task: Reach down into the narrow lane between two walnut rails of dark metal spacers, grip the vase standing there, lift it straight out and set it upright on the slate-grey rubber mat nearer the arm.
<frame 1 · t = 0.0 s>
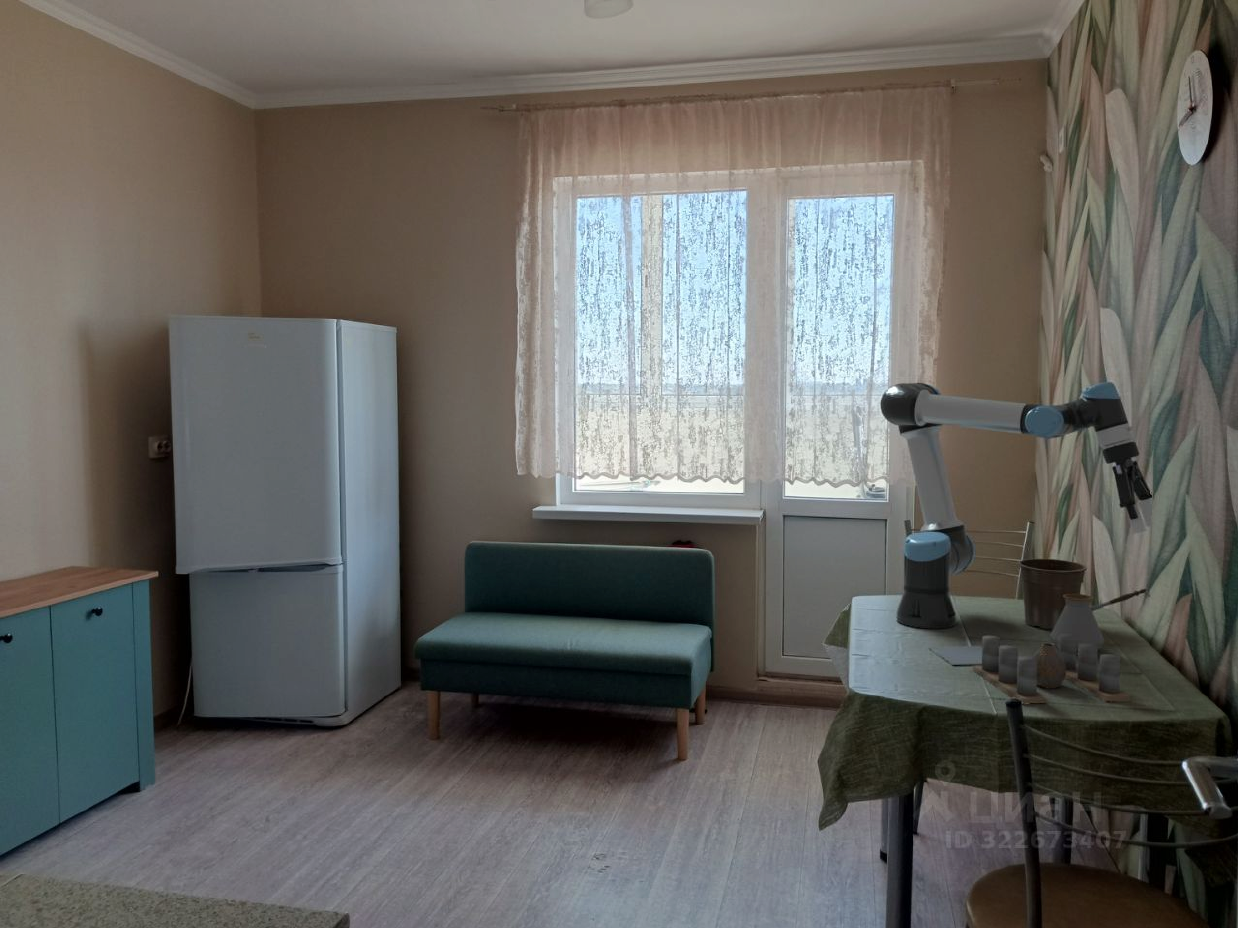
hand: (1146, 528, 224), 28 cm above the table, tool tilted 20°, fingers open, 13 cm apart
plant pot: (1050, 625, 244), on the table
vase: (1047, 686, 194), on the table
spacer rack: (1047, 685, 194), on the table
coffee pot: (1098, 651, 220), on the table
mat: (969, 656, 216), on the table
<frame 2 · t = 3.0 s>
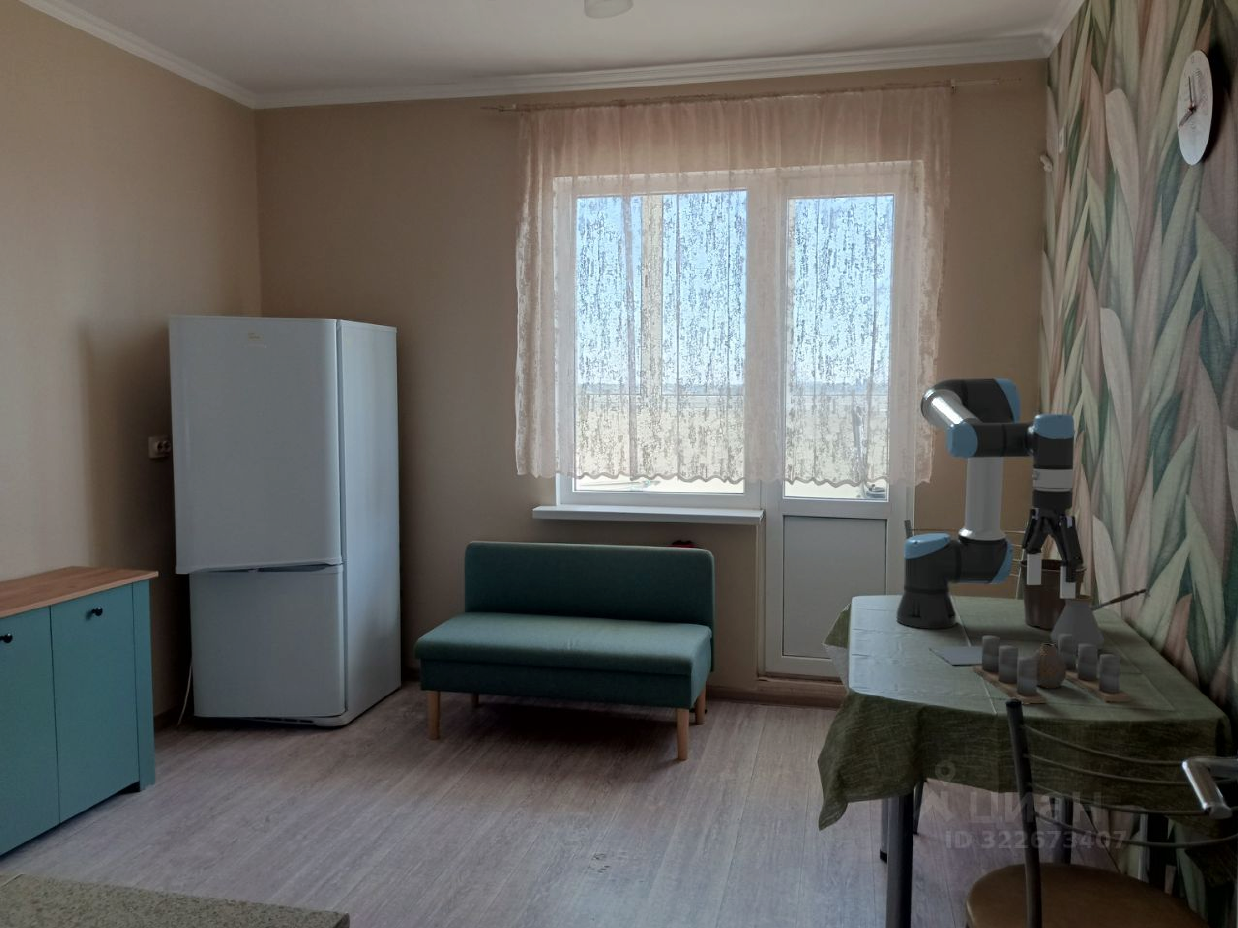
hand: (1050, 591, 193), 20 cm above the table, tool pointing down, fingers open, 13 cm apart
nothing on the table moved.
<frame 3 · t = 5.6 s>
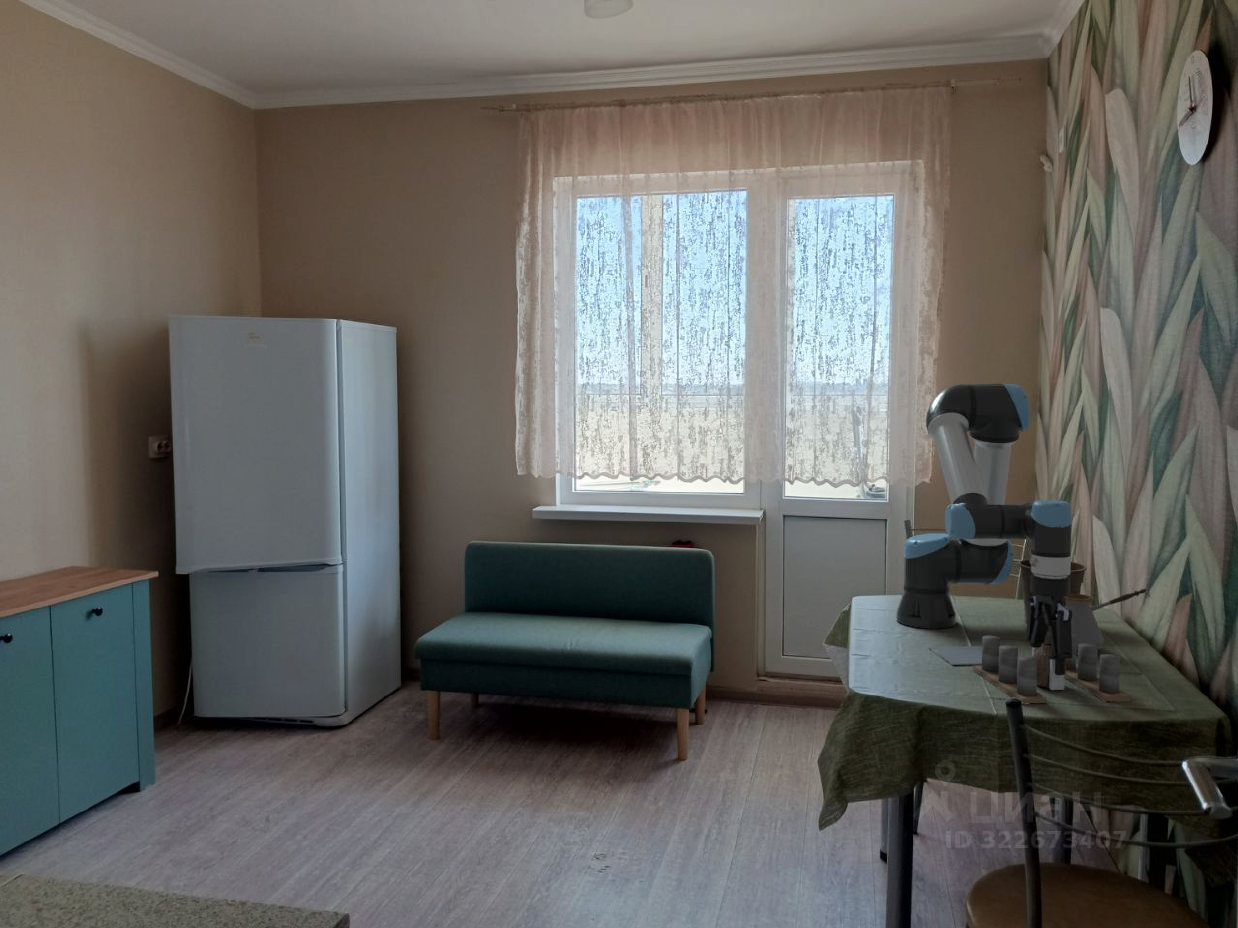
hand: (1047, 683, 194), 0 cm above the table, tool pointing down, fingers closed on vase, 7 cm apart
vase: (1047, 686, 194), on the table, touching gripper
everything else where it was.
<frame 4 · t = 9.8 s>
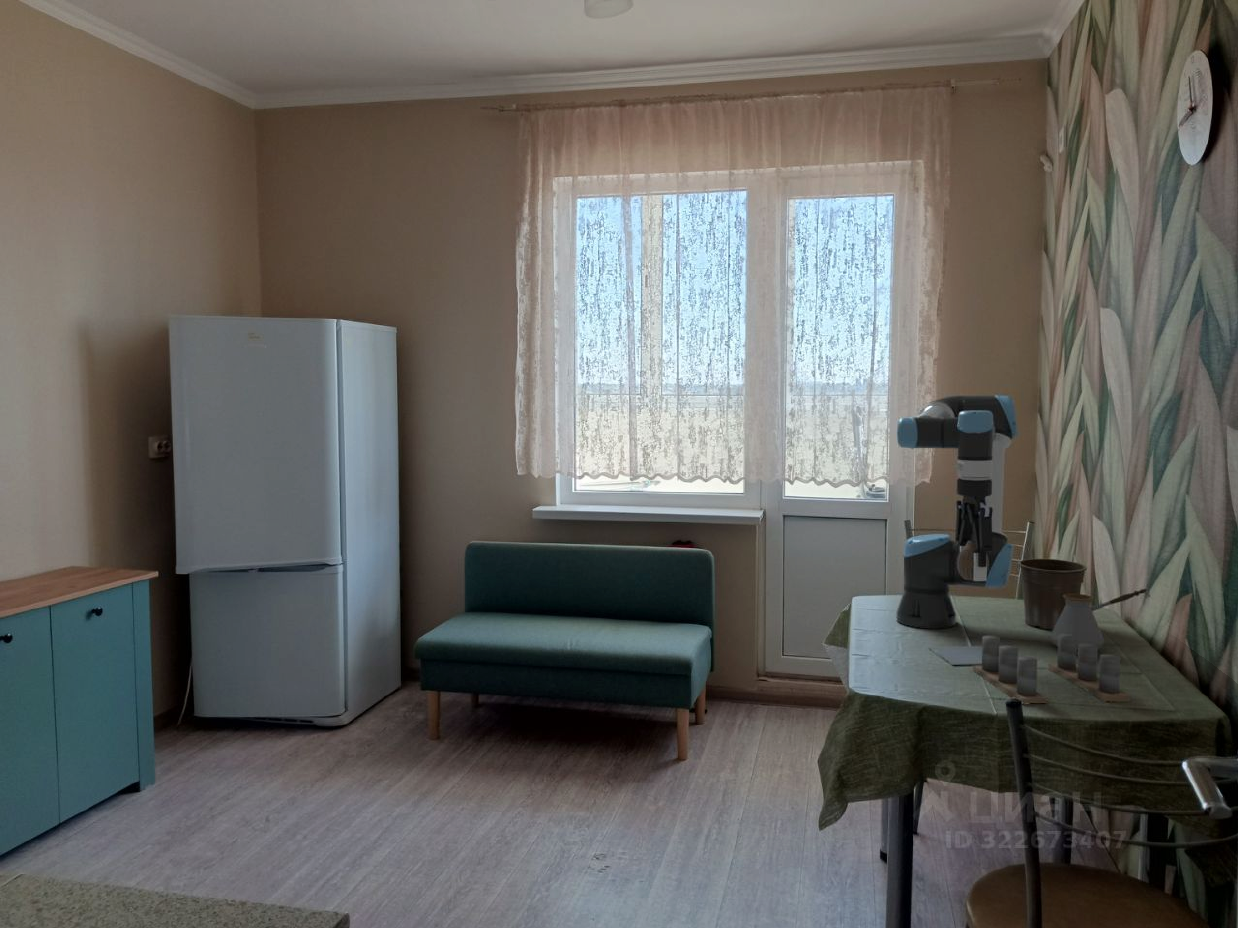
hand: (972, 576, 214), 19 cm above the table, tool pointing down, fingers closed on vase, 7 cm apart
vase: (972, 579, 214), point 18 cm above the table, touching gripper
everything else where it was.
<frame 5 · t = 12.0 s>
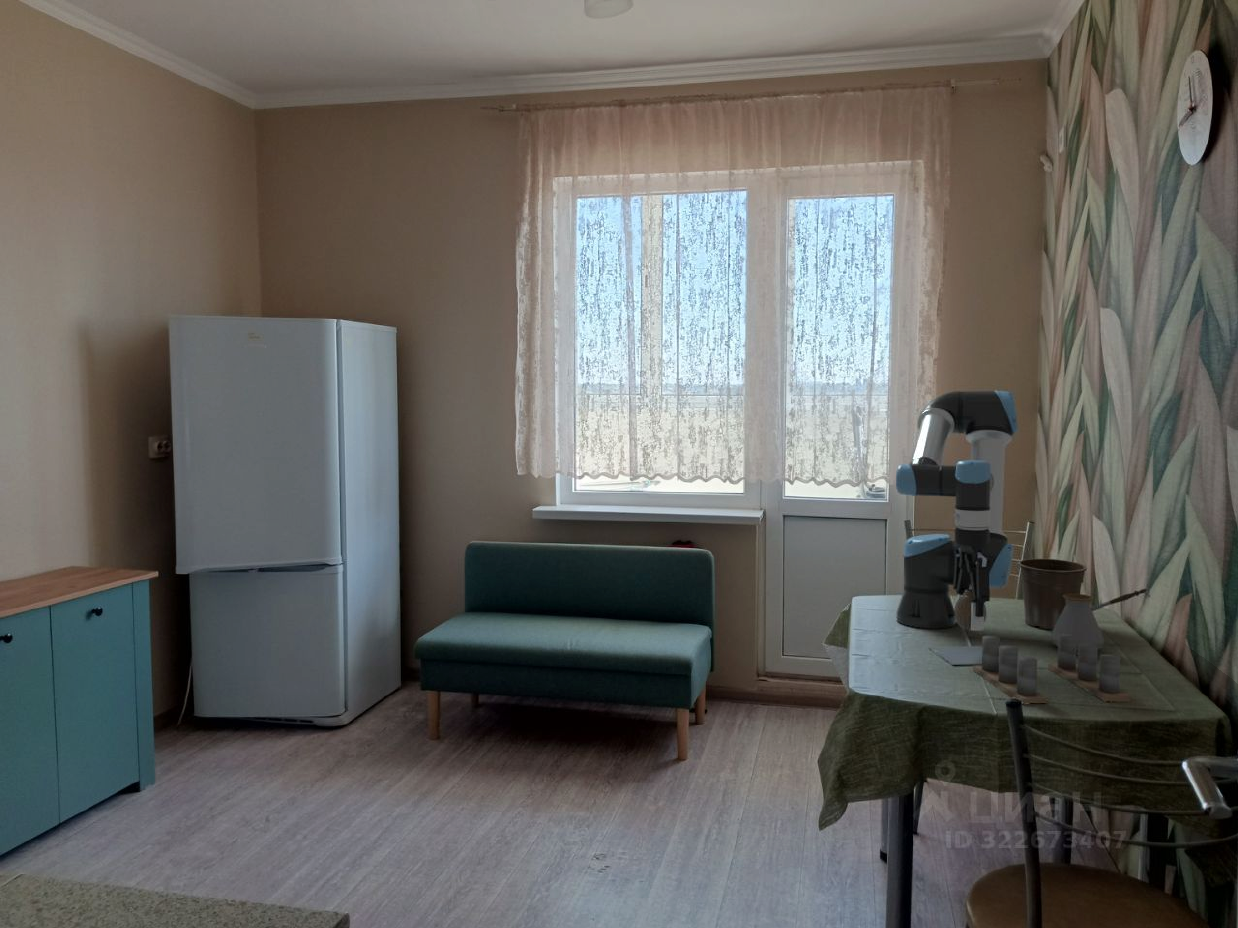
hand: (970, 625, 215), 7 cm above the table, tool pointing down, fingers closed on vase, 7 cm apart
vase: (969, 628, 215), point 7 cm above the table, touching gripper
everything else where it was.
when the fingers open (2 cm above the table, at t = 13.8 s): vase drops 1 cm, resting on mat.
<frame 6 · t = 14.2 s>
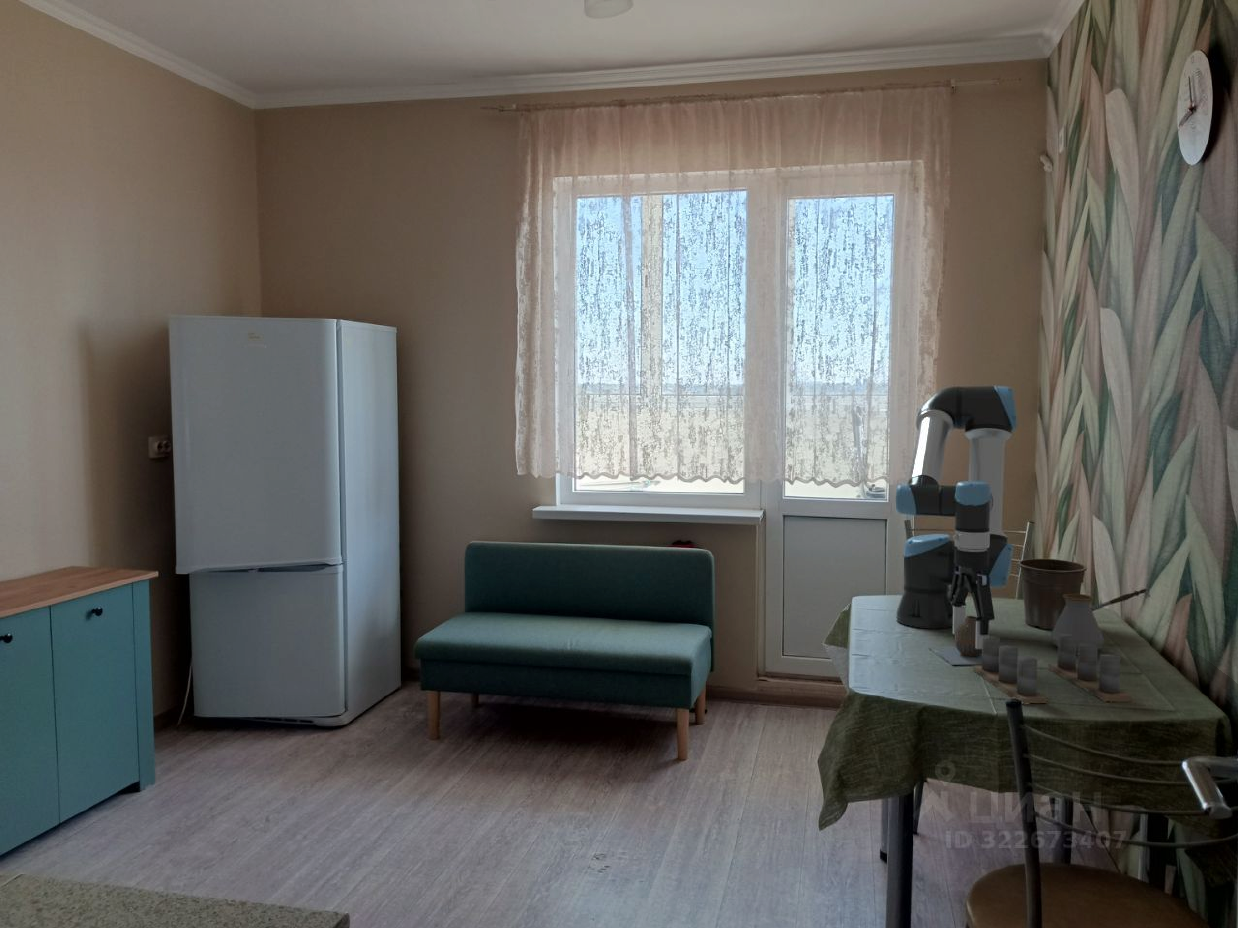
hand: (970, 641, 216), 4 cm above the table, tool pointing down, fingers open, 12 cm apart
vase: (969, 654, 216), resting on mat
everything else where it was.
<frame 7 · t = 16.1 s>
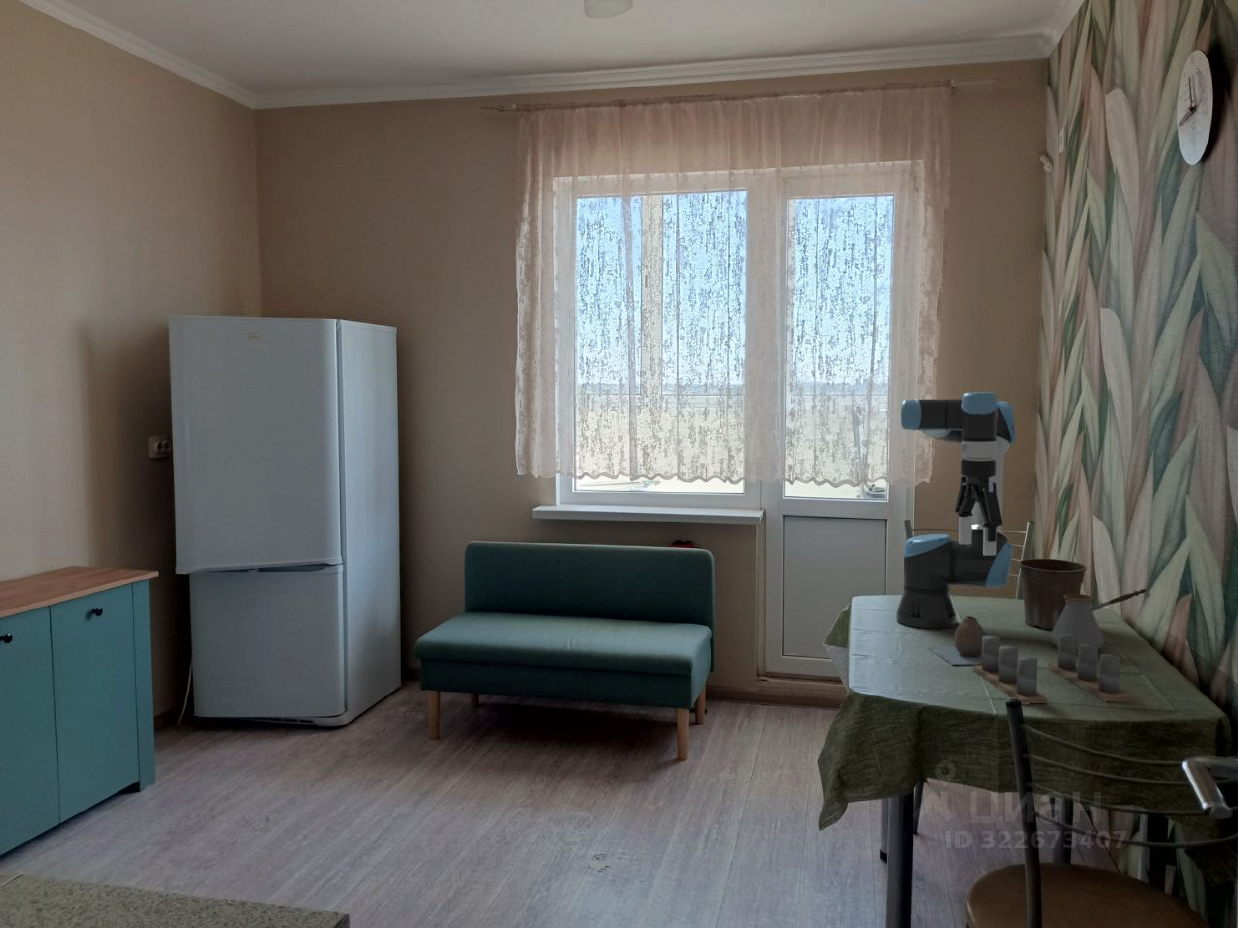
hand: (977, 549, 217), 25 cm above the table, tool pointing down, fingers open, 13 cm apart
nothing on the table moved.
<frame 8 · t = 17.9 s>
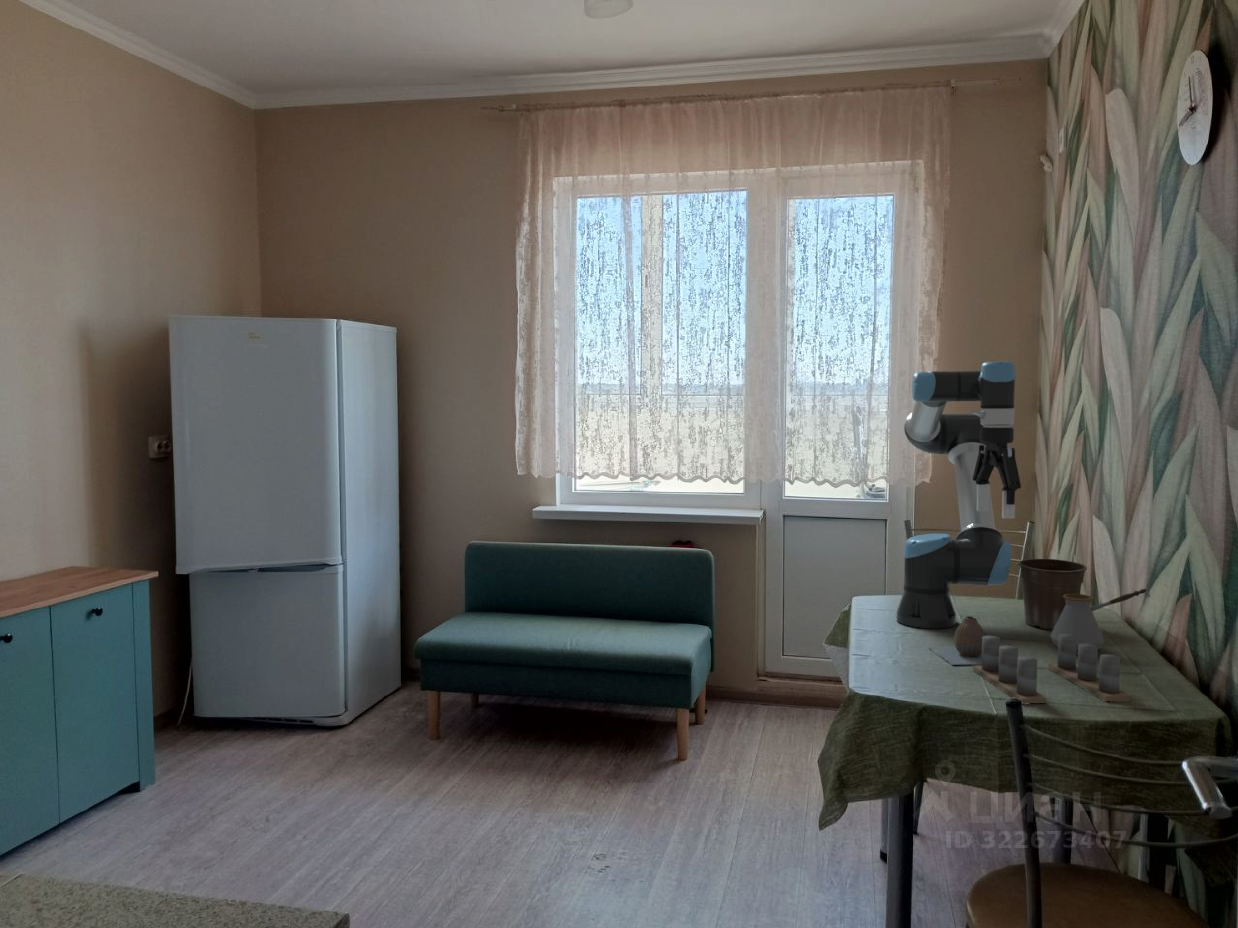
hand: (995, 514, 224), 32 cm above the table, tool pointing down, fingers open, 13 cm apart
nothing on the table moved.
at the end: vase inside the target area on the mat (0.0 cm from its centre), point 0.2 cm above the mat's base; vase tilted 0°; the gripper is holding nothing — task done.
